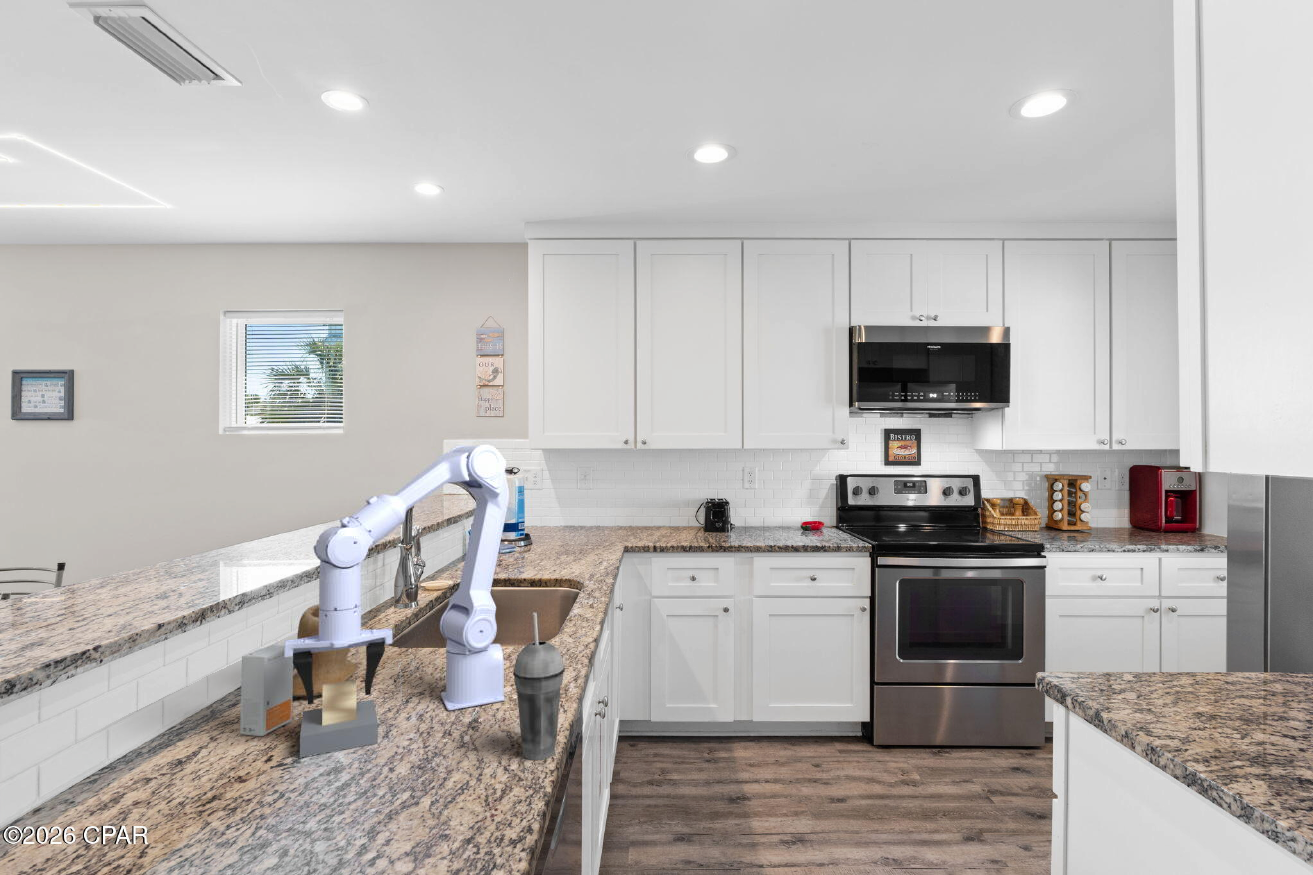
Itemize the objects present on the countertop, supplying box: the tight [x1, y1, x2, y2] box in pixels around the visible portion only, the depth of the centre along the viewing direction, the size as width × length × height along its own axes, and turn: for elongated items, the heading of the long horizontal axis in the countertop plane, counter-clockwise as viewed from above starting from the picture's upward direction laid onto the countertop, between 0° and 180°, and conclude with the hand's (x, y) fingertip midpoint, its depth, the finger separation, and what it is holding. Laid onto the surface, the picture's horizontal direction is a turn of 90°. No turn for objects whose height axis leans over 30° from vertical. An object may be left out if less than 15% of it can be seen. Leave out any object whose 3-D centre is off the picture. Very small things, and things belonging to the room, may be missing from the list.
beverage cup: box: [512, 612, 565, 761], centre depth 90 cm, size 7×7×20 cm
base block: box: [299, 699, 379, 759], centre depth 96 cm, size 10×10×3 cm
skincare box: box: [239, 644, 294, 737], centre depth 99 cm, size 6×4×12 cm
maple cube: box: [321, 679, 358, 726], centre depth 96 cm, size 4×4×4 cm
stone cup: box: [292, 603, 360, 698], centre depth 117 cm, size 15×12×15 cm
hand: (339, 697), depth 96 cm, fingers open, 7 cm apart
